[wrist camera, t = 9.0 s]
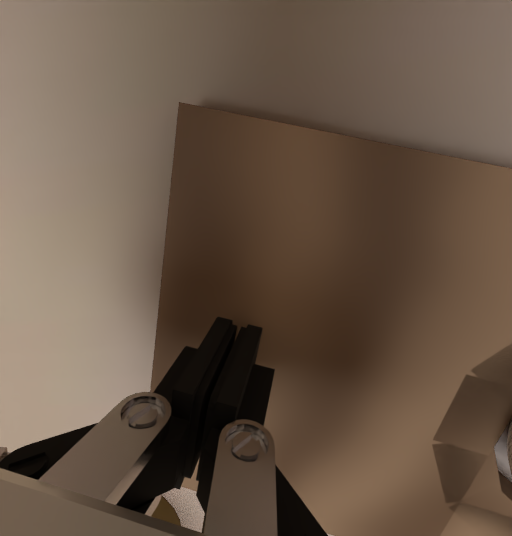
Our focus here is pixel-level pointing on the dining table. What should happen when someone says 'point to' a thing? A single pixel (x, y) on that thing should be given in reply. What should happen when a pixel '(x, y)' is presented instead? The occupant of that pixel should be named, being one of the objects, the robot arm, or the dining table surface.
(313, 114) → the dining table surface
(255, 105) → the dining table surface
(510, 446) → the ball
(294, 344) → the board
